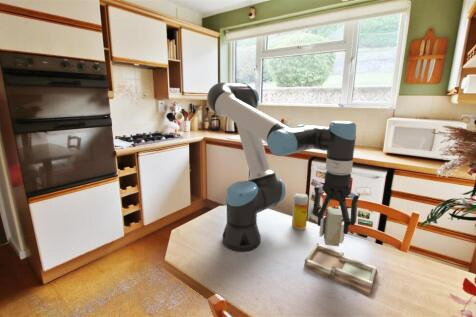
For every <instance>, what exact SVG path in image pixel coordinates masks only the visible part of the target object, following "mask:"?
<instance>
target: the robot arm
mask: <svg viewBox="0 0 476 317" xmlns="http://www.w3.org/2000/svg"><path fill="white" fill-rule="evenodd" d="M259 101H260V96H259V92H258V90H257V88H255V86H254V85H253V84H250V83H245V82H238V83H237V82H218V83H216V84H213V85H212V87H210V89H209V91H208V93H207V96H206V102H207V105H208V106H209V108H210V109H211V111H212V112H213V113H215V114H217V115H218V116H220V117H226V118H228V119H229V120H231V121H232V122H233V123H235V124H236V128H237V131H238V135H239V139H240V141H241V142H240V143H241V145H242V148H243V153H244V156H245V159H246V160H245V161H246V164H247V167H248V171H249V173H250V175H249V177H248V180H240V181H236V182H234V183H232V184H230V185H229V186H227V187H228V188H227V189H226V196H225V202H226V225H225V227H224V230H223V232H222V237H221V238H222V244H223V246H224V247H225V248H226V249H228V250H230V251H234V252H235V253H245V252H251V251H254V250H255V249H258V247H259V246H260V245H261V242H262V241H261V237H262V236H261V233H260V231H259V226H258V223H257V217H258V215H257V214H259V213H261V212H263V211H265V210H267V209H270V208H273V207H276V206H277V205H279V204H281V203H282V202H283V201H284V199H285V196H286V191H287V190H286V185H285V183H284V182H283V180H282V179H281V178H280V177H279V176H277V174H276V172H275V171H274V170H272V169H271V167H270V164H269V161H268V157H267V154H266V149H265V147H264V143H263V141H264V142H265V143H266V144H267V148H268V149H269V151H270V153H271V154H273V155H274V156H278V157H281V156H289V155H293V154H296V153H299V152H304V151H307V150H320V151H325V152H326V158H325V159H326V163H325V170H326V171H325V172H324V173H325V174H324V183H323V185H320V184H317V185H316V186H315V187H314V188H313V190H314V201H313V207H312V208H313V209H312V214H313V215H315V216H317V226H318V227H319V237H320V238H322V237H324V229H325V218H326V215H325V214H326V208H328V206H329V204H330V202H331V200H332V201H336V202H338V205H339V206H340V211H341V213H342V224H341V232H340V242H339V244H343V242H344V240H345V235H347V234H348V233H349V230H350V226H355V225H356V223H357V214H358V201H359V199H360V196H361V194H360V193H359V192H357V193H356V192H353V191H352V189H351V181H352V174H351V172H353V163H354V155H355V154H354V152H355V146H356V139H357V125H356V123H355V122H353V121H350V120H349V121H348V120H333V121H330V122H329V126H322V125H311V124H298V125H297V126H296V127H290V126H288V125H286V124H284V123H282V122H280V121H278V120H277V119H274V118H273V117H270V116H269V115H267V114H265V113H264V112H262V111H261V110H258V108H257V107H258V106H259ZM322 192H324V193H325V195H326V196H325V198H324V202H323V203H322V206H321V208H320V204H321V197H322V196H321V195H322ZM349 196H350V200H351V206H350V214H349V210H348V205H347V199H346V198H347V197H349Z"/></svg>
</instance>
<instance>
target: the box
mask: <svg viewBox="0 0 476 317" xmlns="http://www.w3.org/2000/svg"><path fill="white" fill-rule="evenodd" d="M325 216H326V218H325V229H324V235H323V239H324V244H325V246H331V247H340V243H339V242H340V232H341V224H342V223H343V217H342V212H341V208H340V209H339V208H332V207H327V208H326V211H325Z"/></svg>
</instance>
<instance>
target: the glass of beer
mask: <svg viewBox="0 0 476 317" xmlns="http://www.w3.org/2000/svg"><path fill="white" fill-rule="evenodd" d="M292 204H293V205H292V216H291V217H292V220H291V225H292V227H293V228H294V229H296V230H304V229H305V228H307V221H308V220H307V219H308V208H309V196H308V194H307V193H305V192H296V193H294V195H293V203H292Z"/></svg>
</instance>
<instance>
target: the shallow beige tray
mask: <svg viewBox="0 0 476 317" xmlns="http://www.w3.org/2000/svg"><path fill="white" fill-rule="evenodd" d="M303 268H304V269H307V270H309V271H311V272H314V273H317V274H320V276H324V277H326V278H329V279H331V280H333V281H335V282H337V283H340V284H342V285H345V286H347V287H350V288H351V289H354V290H356V291H359V292H361V293H364V294H366V295H368V296H370V295H371V292H372V287H373V285H374V284H373V283H374V281H375V277H376V274H377V270H378V267H377V266H374V265H371V264H368V263H367V262H363V261H360V260H357V259H354V258H351V257H349V256H346V255H345V253H344V252H342V251H341V250H336V249H335V248H332V247H329V246H327V245H323V244H321V243H316V245H315V246H314V247H313V249H311V251H310V252H309V254H308V255H307V257H306V258H305V259H304V265H303Z"/></svg>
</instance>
